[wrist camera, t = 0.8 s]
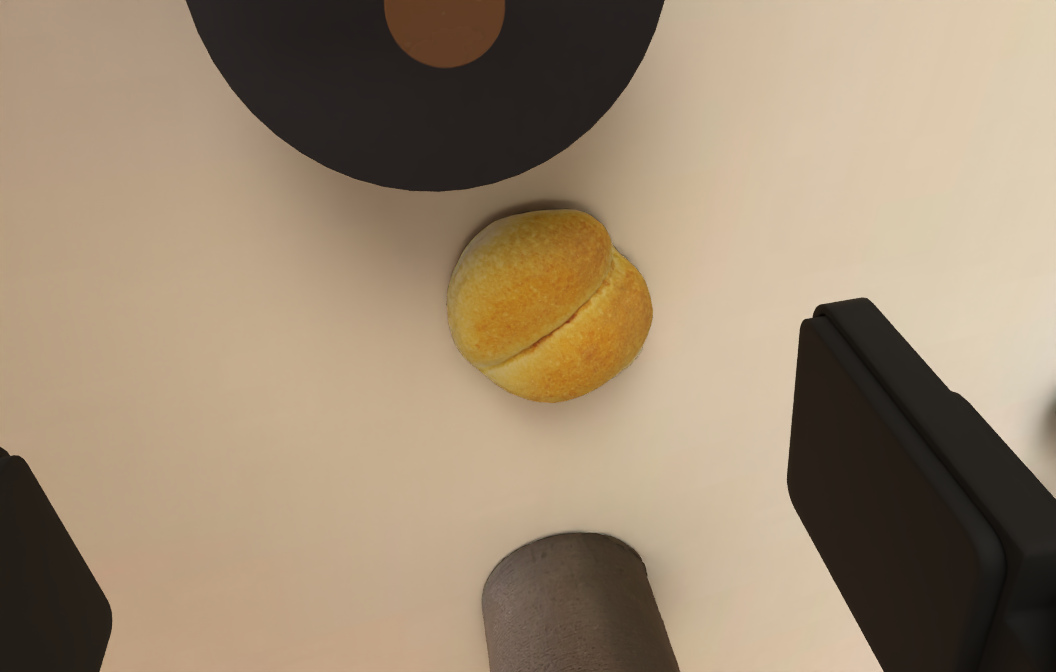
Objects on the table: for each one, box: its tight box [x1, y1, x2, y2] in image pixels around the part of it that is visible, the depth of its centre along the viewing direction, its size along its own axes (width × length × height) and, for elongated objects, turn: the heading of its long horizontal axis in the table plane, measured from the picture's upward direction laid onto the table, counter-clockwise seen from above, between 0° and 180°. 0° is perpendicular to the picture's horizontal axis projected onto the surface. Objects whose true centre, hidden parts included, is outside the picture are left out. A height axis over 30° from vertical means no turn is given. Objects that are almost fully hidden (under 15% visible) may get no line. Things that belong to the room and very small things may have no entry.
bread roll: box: [446, 209, 653, 403], centre depth 37 cm, size 8×9×4 cm
